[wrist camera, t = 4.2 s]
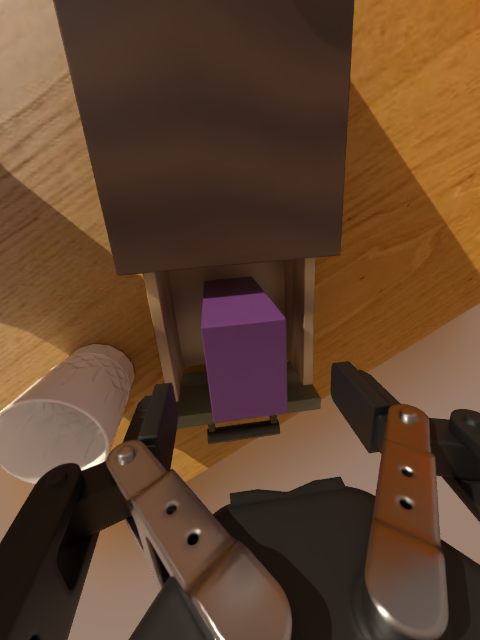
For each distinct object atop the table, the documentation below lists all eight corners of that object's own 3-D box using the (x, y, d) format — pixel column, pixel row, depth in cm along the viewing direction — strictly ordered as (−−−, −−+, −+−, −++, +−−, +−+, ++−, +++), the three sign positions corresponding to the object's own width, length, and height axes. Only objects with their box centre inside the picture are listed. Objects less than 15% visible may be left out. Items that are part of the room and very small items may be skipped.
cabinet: (299, 244, 26) (340, 255, 18) (145, 258, 25) (116, 275, 17) (300, 34, 21) (359, -84, 13) (104, 39, 20) (32, -88, 12)
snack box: (211, 341, 26) (213, 423, 16) (203, 280, 24) (200, 328, 14) (255, 336, 27) (287, 413, 16) (252, 276, 25) (286, 318, 14)
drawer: (296, 401, 31) (319, 447, 25) (180, 417, 30) (172, 468, 24) (296, 231, 25) (327, 235, 19) (147, 243, 24) (126, 252, 17)
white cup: (129, 411, 30) (94, 495, 21) (53, 392, 29) (-21, 475, 19) (150, 351, 28) (121, 416, 19) (69, 327, 26) (-6, 385, 17)
